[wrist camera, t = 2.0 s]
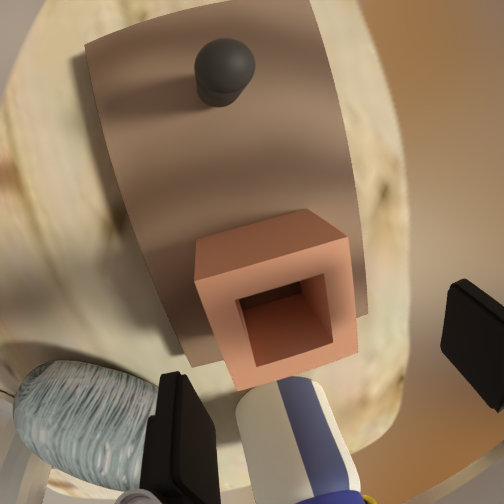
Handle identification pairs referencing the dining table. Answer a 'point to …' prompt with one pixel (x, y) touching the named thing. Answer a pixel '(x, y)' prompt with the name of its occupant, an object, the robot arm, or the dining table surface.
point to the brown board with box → (222, 140)
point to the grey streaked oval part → (86, 421)
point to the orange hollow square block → (284, 310)
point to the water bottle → (295, 446)
